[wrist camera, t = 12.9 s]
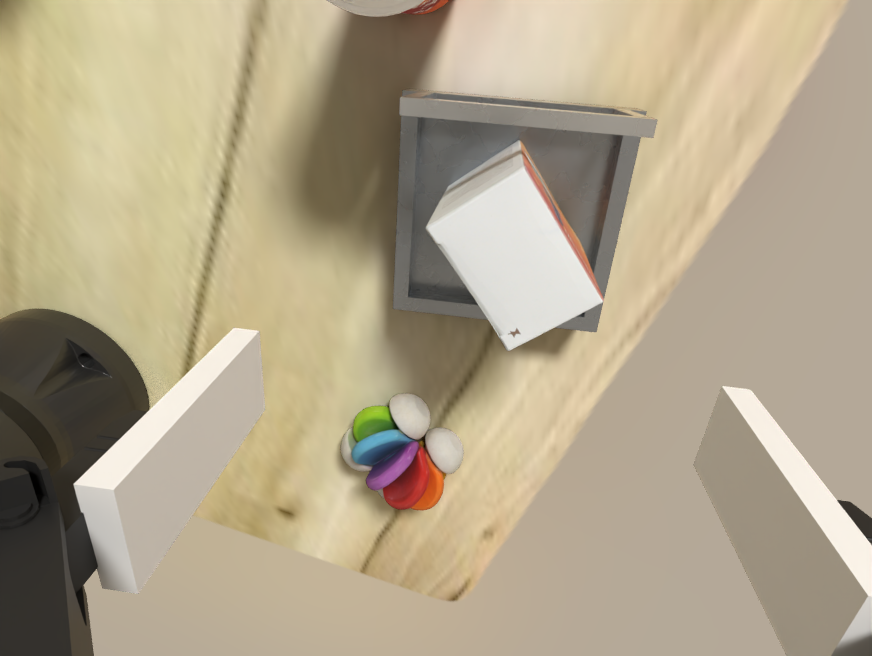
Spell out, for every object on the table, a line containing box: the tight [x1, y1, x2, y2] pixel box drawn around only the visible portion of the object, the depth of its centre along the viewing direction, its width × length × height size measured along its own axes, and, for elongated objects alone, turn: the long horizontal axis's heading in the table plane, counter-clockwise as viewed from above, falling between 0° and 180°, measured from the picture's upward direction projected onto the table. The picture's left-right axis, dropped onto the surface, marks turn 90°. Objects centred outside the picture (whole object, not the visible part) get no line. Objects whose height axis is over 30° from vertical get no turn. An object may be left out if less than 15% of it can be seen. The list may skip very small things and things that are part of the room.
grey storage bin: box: [393, 89, 657, 332], centre depth 33 cm, size 14×14×10 cm
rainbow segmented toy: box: [341, 393, 464, 510], centre depth 44 cm, size 8×10×7 cm
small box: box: [426, 140, 604, 351], centre depth 31 cm, size 8×6×10 cm
